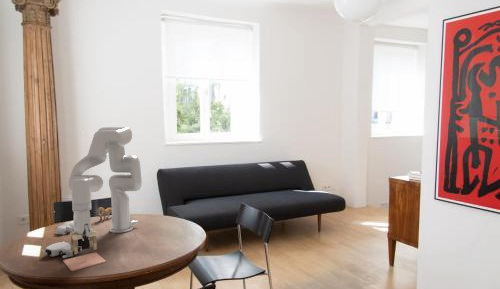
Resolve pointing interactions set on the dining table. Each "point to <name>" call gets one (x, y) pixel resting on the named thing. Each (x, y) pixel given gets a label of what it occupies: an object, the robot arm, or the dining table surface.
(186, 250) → the dining table surface
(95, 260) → the terracotta mat
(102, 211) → the lion figurine
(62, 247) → the robot toy
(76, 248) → the birch stool
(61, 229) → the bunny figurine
